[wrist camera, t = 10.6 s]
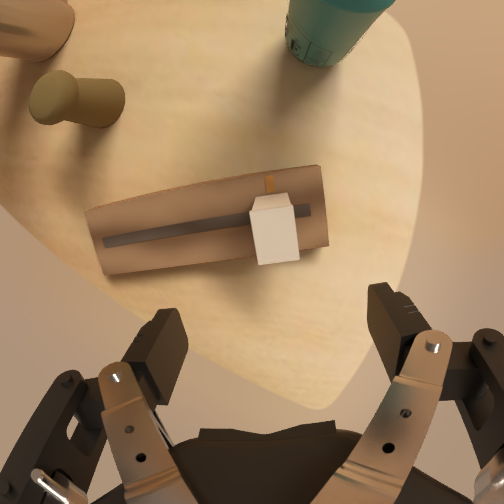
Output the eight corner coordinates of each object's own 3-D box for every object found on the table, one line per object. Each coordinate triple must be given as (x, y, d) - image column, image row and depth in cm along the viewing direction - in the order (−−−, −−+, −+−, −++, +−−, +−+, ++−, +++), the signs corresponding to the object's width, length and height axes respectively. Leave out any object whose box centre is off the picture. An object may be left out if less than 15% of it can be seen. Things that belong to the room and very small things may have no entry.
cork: (104, 137, 29) (41, 143, 18) (75, 111, 27) (12, 110, 17) (134, 95, 27) (76, 81, 16) (103, 70, 26) (43, 53, 15)
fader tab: (254, 196, 27) (249, 212, 21) (288, 191, 27) (293, 206, 21) (261, 237, 29) (258, 265, 23) (293, 233, 28) (299, 259, 22)
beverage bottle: (357, 53, 24) (457, -34, 5) (310, 84, 25) (374, -3, 7) (316, 10, 22) (361, -110, 3) (269, 40, 24) (262, -86, 5)
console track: (95, 207, 32) (84, 212, 29) (316, 164, 28) (320, 166, 26) (113, 267, 34) (104, 275, 32) (325, 238, 31) (329, 246, 29)
